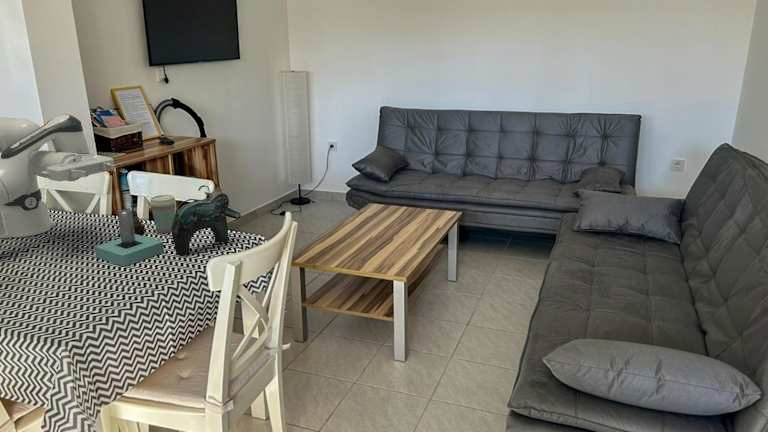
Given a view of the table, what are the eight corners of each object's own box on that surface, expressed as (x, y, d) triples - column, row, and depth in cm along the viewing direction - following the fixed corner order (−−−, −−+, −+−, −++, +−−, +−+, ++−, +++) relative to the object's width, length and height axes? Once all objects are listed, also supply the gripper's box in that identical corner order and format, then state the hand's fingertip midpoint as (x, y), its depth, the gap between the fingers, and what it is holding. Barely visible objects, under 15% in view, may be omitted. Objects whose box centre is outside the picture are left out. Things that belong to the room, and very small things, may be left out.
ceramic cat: (224, 237, 196) (219, 179, 190) (236, 241, 192) (231, 182, 186) (171, 253, 181) (164, 191, 175) (182, 258, 177) (176, 195, 171)
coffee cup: (175, 225, 208) (171, 193, 204) (182, 232, 201) (178, 198, 197) (150, 229, 203) (146, 196, 199) (156, 236, 196) (152, 202, 193)
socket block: (95, 257, 178) (94, 246, 177) (136, 244, 189) (134, 233, 188) (124, 266, 171) (122, 255, 170) (164, 252, 182) (163, 241, 181)
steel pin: (120, 256, 178) (114, 213, 174) (128, 252, 182) (122, 209, 178) (132, 257, 178) (126, 213, 173) (140, 253, 181) (134, 210, 177)
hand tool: (145, 235, 198) (143, 222, 197) (132, 237, 196) (131, 224, 195) (141, 220, 214) (140, 208, 213) (130, 221, 213) (128, 209, 211)
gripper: (35, 162, 172) (67, 167, 166) (94, 151, 190) (125, 155, 184) (38, 183, 174) (70, 188, 168) (97, 170, 192) (127, 174, 186)
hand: (99, 171), depth 176 cm, fingers open, 8 cm apart
